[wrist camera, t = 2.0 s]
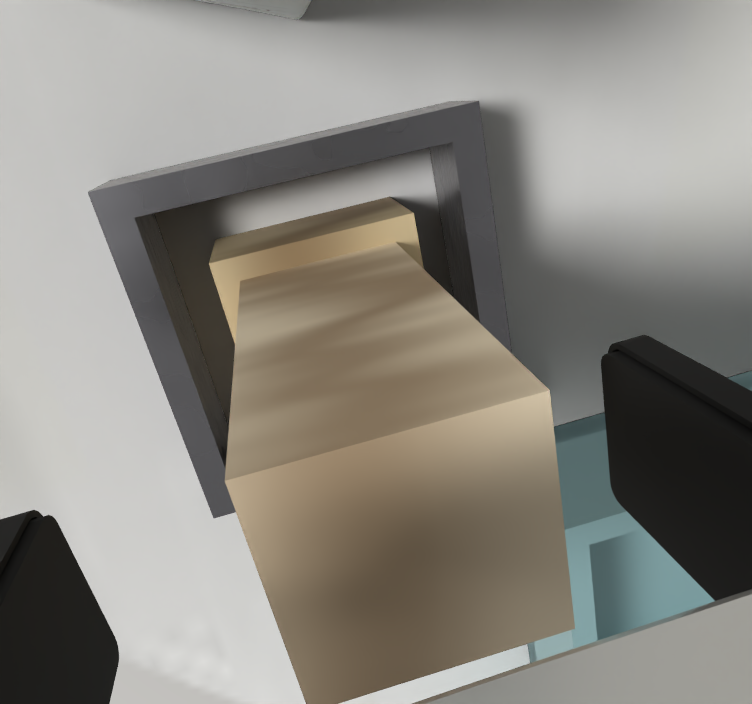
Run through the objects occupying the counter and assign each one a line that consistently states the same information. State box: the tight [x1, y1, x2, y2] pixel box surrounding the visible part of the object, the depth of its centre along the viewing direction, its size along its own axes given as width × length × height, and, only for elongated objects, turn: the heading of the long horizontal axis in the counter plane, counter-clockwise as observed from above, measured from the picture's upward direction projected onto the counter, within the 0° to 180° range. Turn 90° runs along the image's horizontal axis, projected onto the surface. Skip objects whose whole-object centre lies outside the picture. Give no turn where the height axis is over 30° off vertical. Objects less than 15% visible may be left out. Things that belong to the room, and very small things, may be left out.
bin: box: [528, 371, 752, 663], centre depth 23 cm, size 15×15×5 cm
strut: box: [209, 197, 575, 704], centre depth 14 cm, size 5×5×12 cm
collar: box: [88, 101, 512, 518], centre depth 18 cm, size 10×10×2 cm
